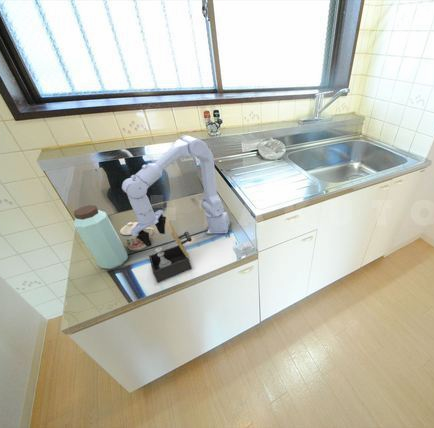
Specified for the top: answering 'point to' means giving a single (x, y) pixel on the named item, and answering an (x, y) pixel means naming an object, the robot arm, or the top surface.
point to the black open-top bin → (177, 267)
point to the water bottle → (100, 237)
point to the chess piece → (162, 258)
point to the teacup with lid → (131, 240)
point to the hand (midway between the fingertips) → (155, 239)
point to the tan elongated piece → (177, 238)
